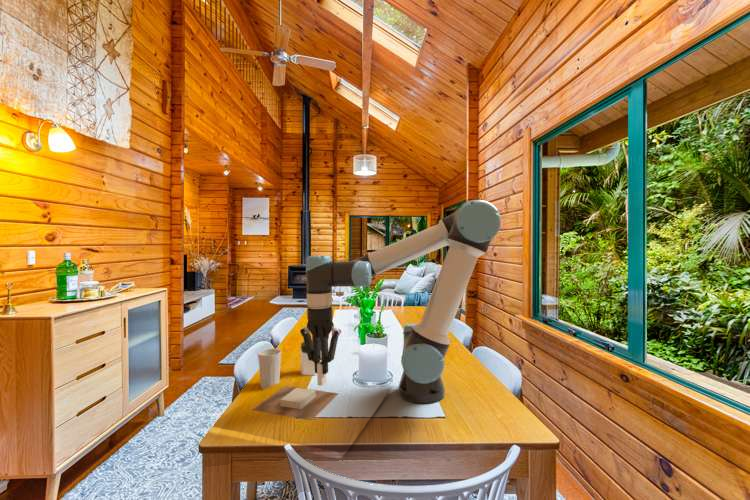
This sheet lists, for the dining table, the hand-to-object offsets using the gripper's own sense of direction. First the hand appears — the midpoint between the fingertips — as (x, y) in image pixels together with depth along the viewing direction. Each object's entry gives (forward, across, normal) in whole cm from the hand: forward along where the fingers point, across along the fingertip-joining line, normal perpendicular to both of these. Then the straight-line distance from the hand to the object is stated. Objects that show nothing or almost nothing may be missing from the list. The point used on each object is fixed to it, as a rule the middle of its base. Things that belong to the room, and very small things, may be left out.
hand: (321, 383), depth 107 cm
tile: (+5, +4, 0) cm, 7 cm away
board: (+7, +8, 0) cm, 11 cm away
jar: (+8, +16, -24) cm, 30 cm away
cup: (+7, +25, -10) cm, 28 cm away
